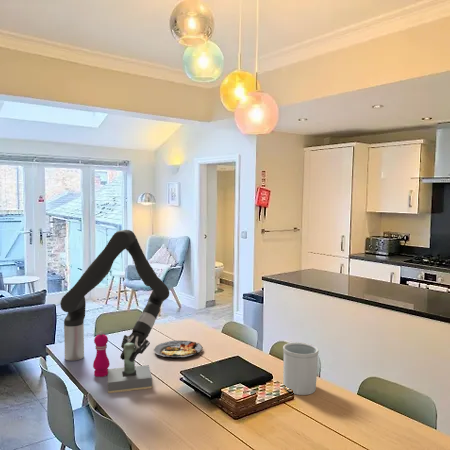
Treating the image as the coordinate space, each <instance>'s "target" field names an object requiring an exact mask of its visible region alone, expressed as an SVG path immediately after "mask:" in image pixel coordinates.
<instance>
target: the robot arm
mask: <svg viewBox="0 0 450 450" xmlns="http://www.w3.org/2000/svg"><path fill="white" fill-rule="evenodd" d="M125 250H126V251H127V252H128V253H129V255H130V256H131V259H132V260H133V263H134V266H135V269H136V272H137V274H138V276H139V278H140V279H141V281H142V282H143V284H144V285H145V286H146V287H149V288H150V289H151V290H152V291H151V293H150V296H149V298H148V300H147V303H146V304H145V307H144V308H143V310H142V312H141V314H140V315H139V316H138V319H137V320H136V323H135V324H134V326H133V328H132V332H131V333H130V334H129V335H127V334H125V335H124V336H123V337H122V341H121V346H120V348H121V349H122V352H121V354H120V359H121V360H123V361H124V344H126V343H134V352H133V353H132V355H131V356H130V358H129V361H131V362H133V361H134V360H136V357H138V355H139V354H140V355H141V354H143V353H144V352H145V350H146V349H147V348H148V347H149V346H150V344H151V342H150V341H149V340H148V339H147V338H148V337H149V335H150V333H151V331H152V329H153V327H154V325H155V322H156V320H157V318H158V317H159V314H160V311H161V306H162V304H163V303H164V302H165V301H166V300H167V299H168V298H169V297H170V289H169V288H168V286H167V285H166V283H165V282H164V281H163V280H162V279H161V278H159V277H158V275H157V273H156V272H155V270H154V268H153V267H152V265H151V263H150V262H149V261H148V259H147V258H146V256H145V253H144V251H143V250H142V247H141V245H140V243H139V241H138V238H137V236H136V235H135V233H134V232H133V231H132V230H130V229H121V230H117V231H116V232H114V234H113V235H112V236H111V238H110V239H109V240H108V242H107V244H106V246H105V247H104V248H103V250H102V251H101V252H100V253H99V254H98V255H97V257H96V258H95V259H94V260H93V261H92V262H91V263H90V265H89V266H88V267H87V268H86V270H85V271H84V273H83V274H82V275H81V276H80V278H79V279H78V280H77V282H76V283H75V284H74V286H72V287H71V288H70V290H68V291H67V292H66V294H65V295H63V296H62V298H61V300H60V303H59V304H60V309H61V310H62V311H63V312H65V313H67V315H66V316H65V318H64V320H63V329H64V332H63V333H64V336H63V338H64V339H63V341H64V360H65V361H70V362H71V361H72V362H74V361H75V362H76V361H78V360H81V359H84V357H85V337H84V336H85V326H84V325H85V324H84V323H85V322H84V321H85V318H86V298H85V296H86V295H88V293H89V292H90V291H92V290H94V289H95V288H96V287H97V286H98V285H99V284H101V282H102V281H103V280H105V278H106V276H107V275H108V274H109V273H110V272H111V269H112V267H113V264H114V262H115V260H116V258H117V257H119V255H120V254H121V253H122V252H124V251H125Z"/></svg>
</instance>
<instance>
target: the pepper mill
mask: <svg viewBox="0 0 450 450" xmlns="http://www.w3.org/2000/svg"><path fill="white" fill-rule="evenodd" d="M93 341H94V345H95V350H96V352H95V353H96V355H95V358H94V361H93V364H92V368H93V369H94V370H93V371H94V372H93V374H94V375H93V376H95V377H97V378H103V377H106V376H108V369H109V367H110V365H111V364H110V360H109V358H108V355H107V347H108V345H107V343H108V342H109V337H108V336H107V335H106V334H104V331H103V330H100V331H99V332H98V334H97V335H96V336H95V337H94V339H93Z"/></svg>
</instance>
